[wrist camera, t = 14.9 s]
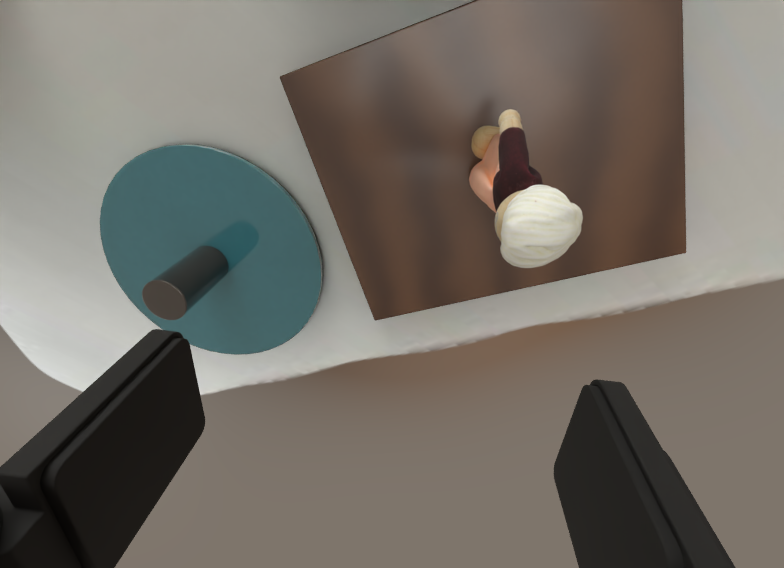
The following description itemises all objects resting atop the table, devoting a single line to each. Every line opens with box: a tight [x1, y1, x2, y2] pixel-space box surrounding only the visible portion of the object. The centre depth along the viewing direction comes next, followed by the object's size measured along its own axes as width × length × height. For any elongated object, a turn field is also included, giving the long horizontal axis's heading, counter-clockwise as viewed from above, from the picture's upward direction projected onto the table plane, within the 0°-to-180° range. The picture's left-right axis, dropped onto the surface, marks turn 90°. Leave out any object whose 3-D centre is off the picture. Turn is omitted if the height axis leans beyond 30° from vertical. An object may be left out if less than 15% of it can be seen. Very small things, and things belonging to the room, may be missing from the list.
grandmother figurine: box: [469, 109, 583, 268], centre depth 20 cm, size 8×4×13 cm, turn 26°
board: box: [280, 0, 686, 320], centre depth 27 cm, size 22×18×2 cm
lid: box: [100, 144, 323, 354], centre depth 30 cm, size 18×18×7 cm
